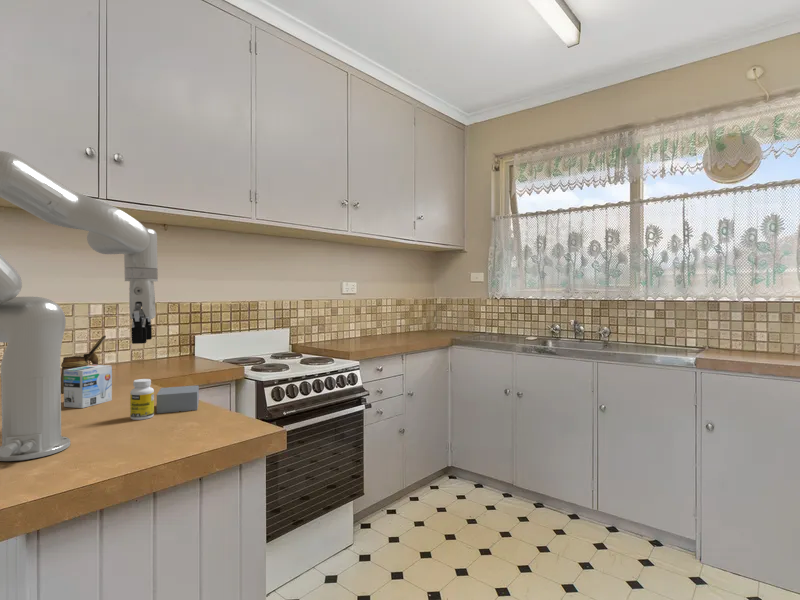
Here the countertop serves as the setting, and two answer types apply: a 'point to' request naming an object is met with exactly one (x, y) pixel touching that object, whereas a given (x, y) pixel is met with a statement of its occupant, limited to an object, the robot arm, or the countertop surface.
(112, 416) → the countertop surface
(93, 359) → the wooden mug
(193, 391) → the riser base
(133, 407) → the supplement bottle
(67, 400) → the light bulb box
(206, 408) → the countertop surface
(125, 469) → the countertop surface
